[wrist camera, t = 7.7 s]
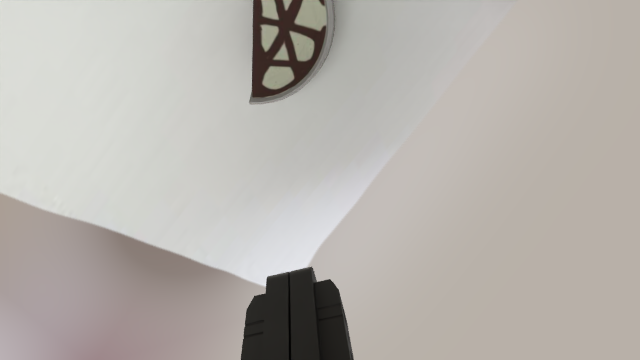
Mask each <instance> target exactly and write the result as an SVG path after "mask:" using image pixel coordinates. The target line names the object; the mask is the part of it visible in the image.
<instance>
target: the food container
mask: <svg viewBox="0 0 640 360" xmlns="http://www.w3.org/2000/svg"><path fill="white" fill-rule="evenodd" d="M334 29H335V10H334V2H333V0H253V58H252V92H251V97H250V101H249V103H250V104H266V103H272V102H276V101H279V100H282V99H285V98H287V97H289V96H291V95H293V94H294V93H296V92H297V91H299V90H300V89H301V88H303V87H304V86H305V85H306V84H307V83H308V82H309V81H310V80H311V79H312V78H313V77H314V76H315V75H316V74H317V72H318V71H319V70H320V68H321V67H322V65H323V63H324V61H325V59H326V57H327V56H328V53H329V50H330V47H331V44H332V40H333V35H334Z"/></svg>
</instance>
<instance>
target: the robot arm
mask: <svg viewBox="0 0 640 360" xmlns="http://www.w3.org/2000/svg"><path fill="white" fill-rule="evenodd" d="M241 360H354V359H353V353H352V348H351V342H350V337H349V331H348V326H347V320H346V317H345V313H344V309H343V305H342V301H341V297H340V293H339V290H338V288H337V287H336V286H335V284H334V283H333V282H332V281H331V280H330V279H329V280H324V281H320V282H317V281H316V277H315V274H314V271H313V268H312V267H308V268H304V269H299V270H295V271H291V272H286V273H282V274H277V275H273V276H268V277H267V282H266V294H261V295H257V296H254V298H253V300H252V301H251V303H250V305H249V307H248V308H247V312H246V320H245V328H244V339H243V345H242V354H241Z"/></svg>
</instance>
